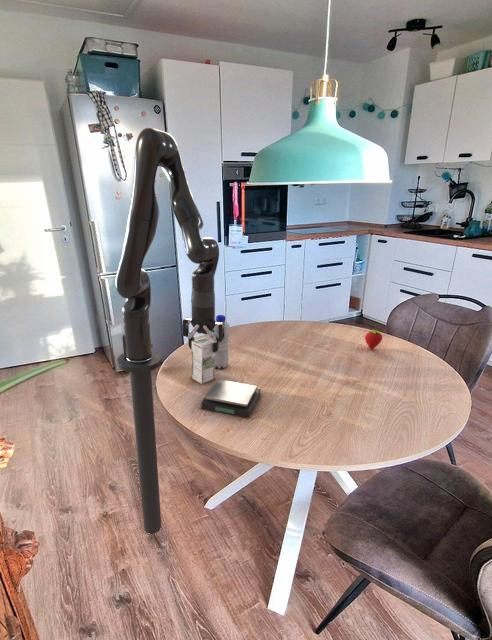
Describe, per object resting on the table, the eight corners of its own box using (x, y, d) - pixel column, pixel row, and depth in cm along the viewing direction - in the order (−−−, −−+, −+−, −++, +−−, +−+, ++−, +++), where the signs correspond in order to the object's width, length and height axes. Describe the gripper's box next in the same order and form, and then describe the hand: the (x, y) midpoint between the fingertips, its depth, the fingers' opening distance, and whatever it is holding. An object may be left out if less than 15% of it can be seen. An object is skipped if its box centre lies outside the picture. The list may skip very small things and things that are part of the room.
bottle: (218, 371, 140) (219, 319, 132) (207, 365, 145) (207, 314, 136) (232, 366, 145) (234, 316, 136) (221, 360, 149) (222, 311, 141)
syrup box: (204, 373, 139) (204, 336, 132) (214, 379, 135) (215, 341, 129) (191, 378, 135) (190, 340, 129) (202, 384, 131) (202, 345, 125)
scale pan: (205, 399, 117) (205, 396, 116) (218, 381, 127) (218, 379, 127) (246, 406, 114) (247, 404, 113) (257, 388, 124) (257, 386, 124)
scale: (201, 409, 117) (201, 402, 116) (216, 387, 130) (216, 381, 129) (248, 418, 114) (249, 411, 113) (260, 395, 126) (260, 389, 125)
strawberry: (359, 347, 167) (363, 325, 163) (374, 345, 169) (379, 324, 165) (367, 352, 162) (372, 330, 158) (383, 351, 164) (387, 328, 160)
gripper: (228, 302, 125) (227, 349, 132) (187, 297, 128) (188, 343, 135) (220, 309, 118) (219, 357, 125) (177, 303, 122) (179, 351, 129)
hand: (203, 350), depth 130 cm, fingers closed on syrup box, 7 cm apart
